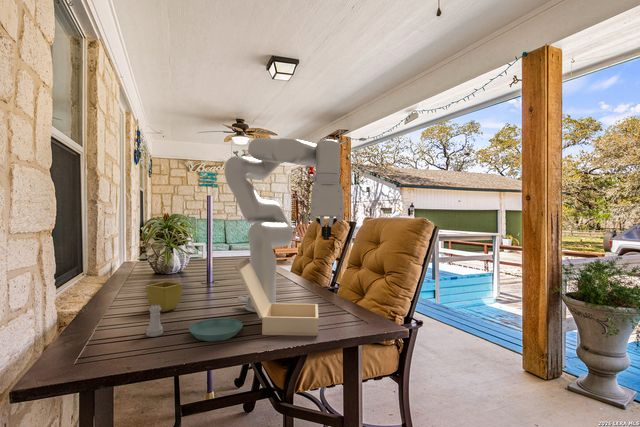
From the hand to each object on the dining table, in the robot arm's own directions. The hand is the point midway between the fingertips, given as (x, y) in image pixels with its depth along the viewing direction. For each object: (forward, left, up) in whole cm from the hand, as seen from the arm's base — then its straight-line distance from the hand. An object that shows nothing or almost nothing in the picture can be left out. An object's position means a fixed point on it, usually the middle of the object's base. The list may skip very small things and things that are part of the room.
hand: (326, 239), depth 107 cm
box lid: (-22, 0, -15) cm, 26 cm away
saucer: (-31, -8, -28) cm, 42 cm away
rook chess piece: (-48, -9, -27) cm, 56 cm away
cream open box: (-10, 0, -27) cm, 29 cm away
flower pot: (-56, +16, -27) cm, 64 cm away
